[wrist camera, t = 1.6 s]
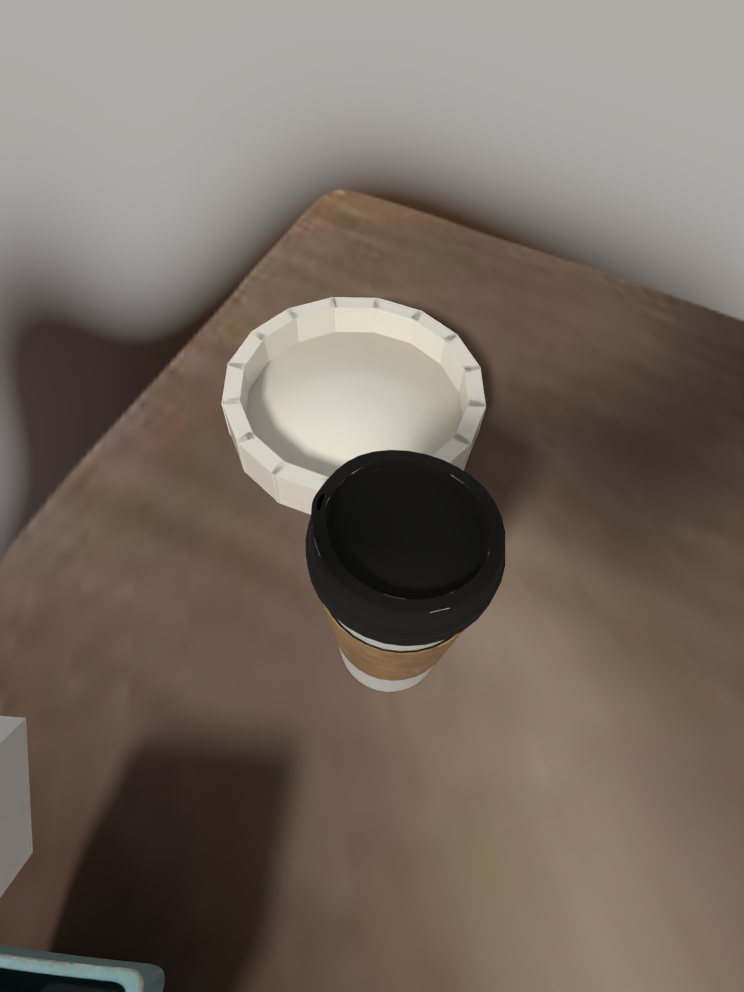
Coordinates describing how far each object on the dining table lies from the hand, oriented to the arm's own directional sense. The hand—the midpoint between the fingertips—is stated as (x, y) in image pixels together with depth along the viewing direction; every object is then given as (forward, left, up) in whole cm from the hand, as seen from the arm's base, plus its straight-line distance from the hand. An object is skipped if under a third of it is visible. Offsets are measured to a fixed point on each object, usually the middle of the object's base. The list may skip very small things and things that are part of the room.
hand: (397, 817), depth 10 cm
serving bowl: (-20, -21, -24) cm, 37 cm away
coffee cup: (-9, -7, -24) cm, 26 cm away
